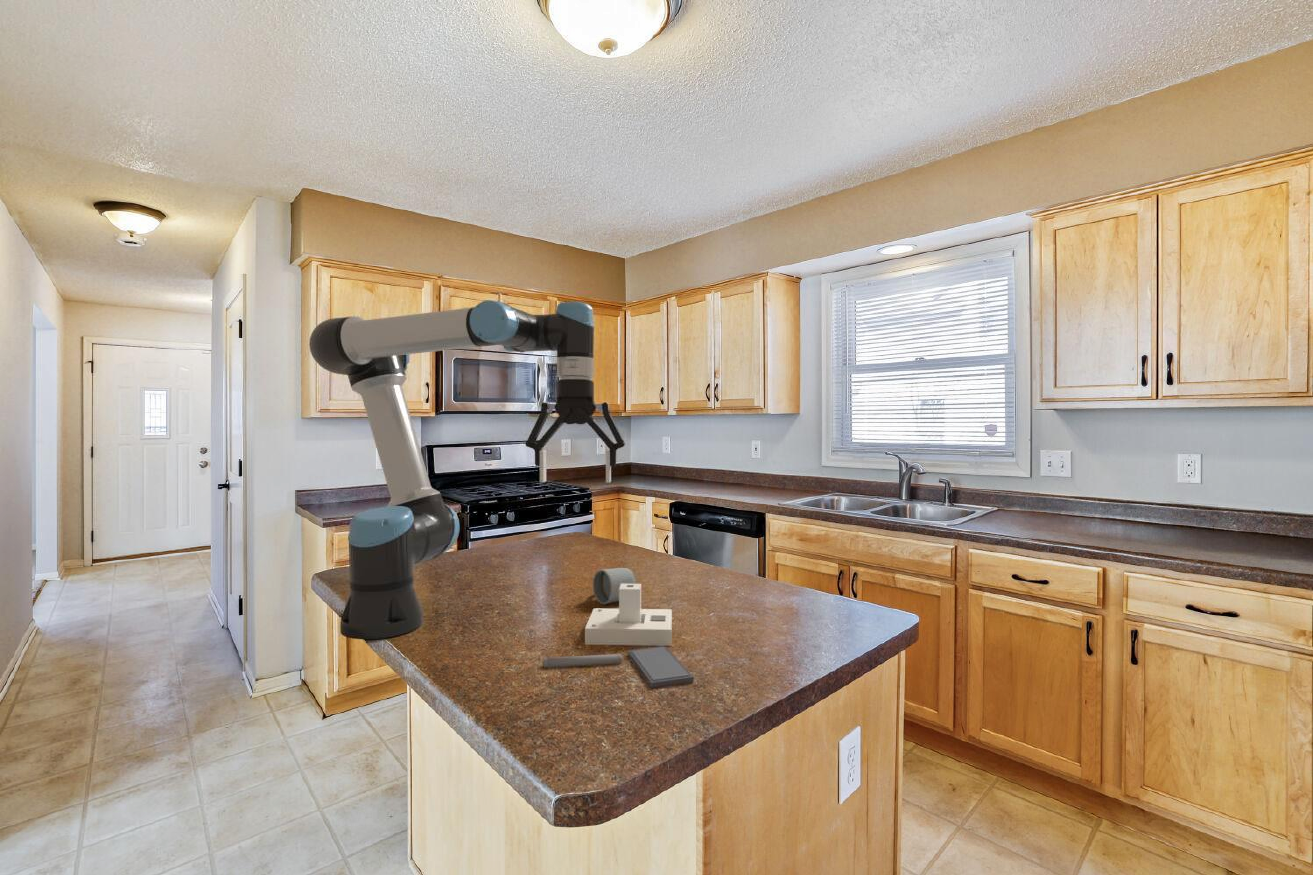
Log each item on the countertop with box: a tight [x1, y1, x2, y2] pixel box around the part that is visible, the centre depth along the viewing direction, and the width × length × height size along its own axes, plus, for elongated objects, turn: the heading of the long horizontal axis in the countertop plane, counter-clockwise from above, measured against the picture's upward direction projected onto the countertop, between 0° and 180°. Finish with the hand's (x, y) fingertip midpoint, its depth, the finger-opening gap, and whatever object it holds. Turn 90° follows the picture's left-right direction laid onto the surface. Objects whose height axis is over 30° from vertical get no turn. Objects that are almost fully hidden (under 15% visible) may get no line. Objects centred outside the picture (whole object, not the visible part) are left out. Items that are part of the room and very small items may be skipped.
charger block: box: [618, 583, 642, 623], centre depth 119 cm, size 4×4×9 cm
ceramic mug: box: [592, 567, 638, 605], centre depth 142 cm, size 11×8×8 cm
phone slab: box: [627, 646, 695, 689], centre depth 103 cm, size 7×14×1 cm, turn 18°
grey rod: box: [542, 653, 624, 669], centre depth 104 cm, size 14×2×2 cm, turn 98°
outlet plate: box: [584, 607, 673, 647], centre depth 119 cm, size 16×12×3 cm
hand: (575, 482), depth 126 cm, fingers open, 13 cm apart
